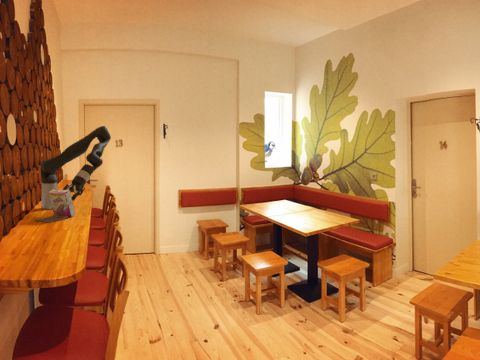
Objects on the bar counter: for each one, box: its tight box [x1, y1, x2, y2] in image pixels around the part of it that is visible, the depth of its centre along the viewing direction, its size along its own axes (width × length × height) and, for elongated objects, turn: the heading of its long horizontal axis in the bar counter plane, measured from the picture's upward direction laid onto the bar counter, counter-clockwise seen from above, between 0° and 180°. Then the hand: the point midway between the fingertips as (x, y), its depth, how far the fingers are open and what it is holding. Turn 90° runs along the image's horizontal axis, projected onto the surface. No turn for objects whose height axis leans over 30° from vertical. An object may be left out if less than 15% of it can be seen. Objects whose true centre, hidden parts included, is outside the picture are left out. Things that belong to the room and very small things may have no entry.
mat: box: [34, 214, 69, 224], centre depth 197 cm, size 11×13×1 cm
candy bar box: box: [48, 189, 76, 218], centre depth 203 cm, size 11×5×16 cm, turn 84°
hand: (66, 199), depth 206 cm, fingers open, 8 cm apart
